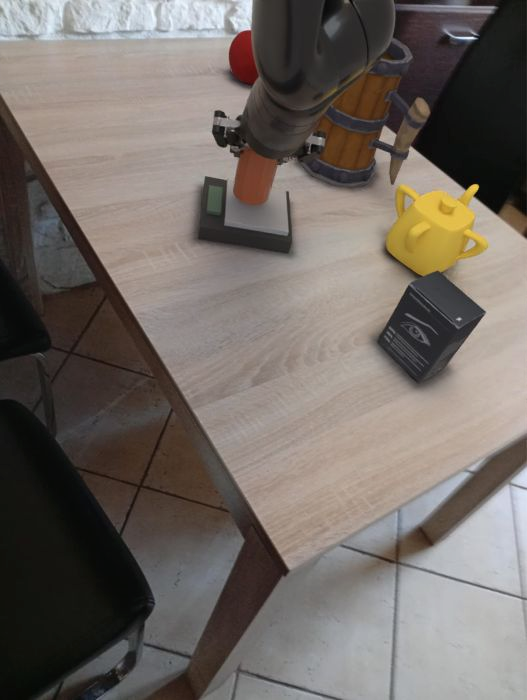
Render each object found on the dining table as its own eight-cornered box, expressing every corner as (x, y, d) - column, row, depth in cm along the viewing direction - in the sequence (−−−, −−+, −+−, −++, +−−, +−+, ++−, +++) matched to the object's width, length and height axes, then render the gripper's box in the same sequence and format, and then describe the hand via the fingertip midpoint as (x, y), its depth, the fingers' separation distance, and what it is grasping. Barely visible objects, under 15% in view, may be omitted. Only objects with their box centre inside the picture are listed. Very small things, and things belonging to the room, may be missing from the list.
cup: (232, 201, 72) (244, 141, 65) (233, 179, 75) (244, 120, 69) (269, 207, 73) (284, 149, 66) (268, 186, 76) (283, 128, 69)
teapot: (375, 218, 85) (401, 162, 77) (448, 233, 87) (480, 180, 79) (384, 275, 77) (414, 219, 69) (465, 291, 78) (503, 238, 71)
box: (445, 368, 67) (490, 312, 59) (417, 385, 65) (461, 329, 56) (402, 326, 71) (439, 267, 62) (374, 340, 68) (409, 281, 60)
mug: (410, 186, 94) (466, 73, 79) (366, 213, 86) (420, 92, 70) (328, 132, 100) (366, 17, 85) (279, 153, 91) (312, 29, 76)
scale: (197, 238, 73) (200, 221, 71) (203, 188, 80) (205, 171, 78) (288, 253, 75) (293, 237, 73) (285, 203, 83) (290, 186, 80)
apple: (215, 74, 105) (223, 19, 97) (243, 64, 110) (252, 11, 103) (251, 95, 103) (262, 40, 95) (277, 84, 108) (290, 31, 101)
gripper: (352, 90, 56) (312, 135, 72) (218, 60, 53) (209, 115, 70) (341, 161, 56) (304, 190, 73) (208, 136, 54) (201, 172, 71)
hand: (258, 153), depth 71 cm, fingers closed on cup, 5 cm apart
